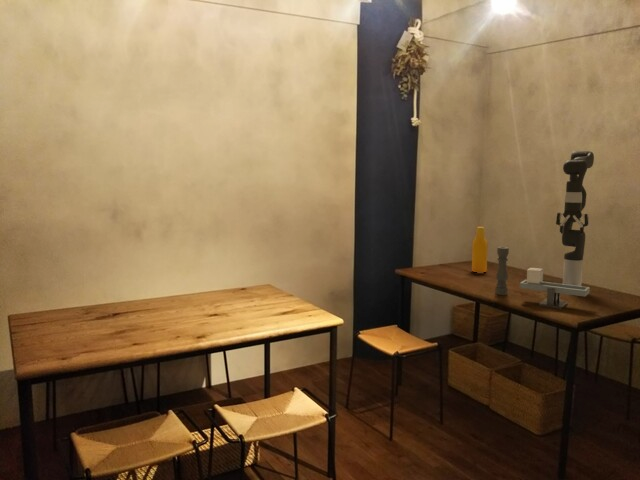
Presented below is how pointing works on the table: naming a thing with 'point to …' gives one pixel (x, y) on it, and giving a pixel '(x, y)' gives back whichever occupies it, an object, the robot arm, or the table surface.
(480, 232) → the beer bottle
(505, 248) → the candle holder
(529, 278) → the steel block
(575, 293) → the beam
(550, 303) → the pivot stand
